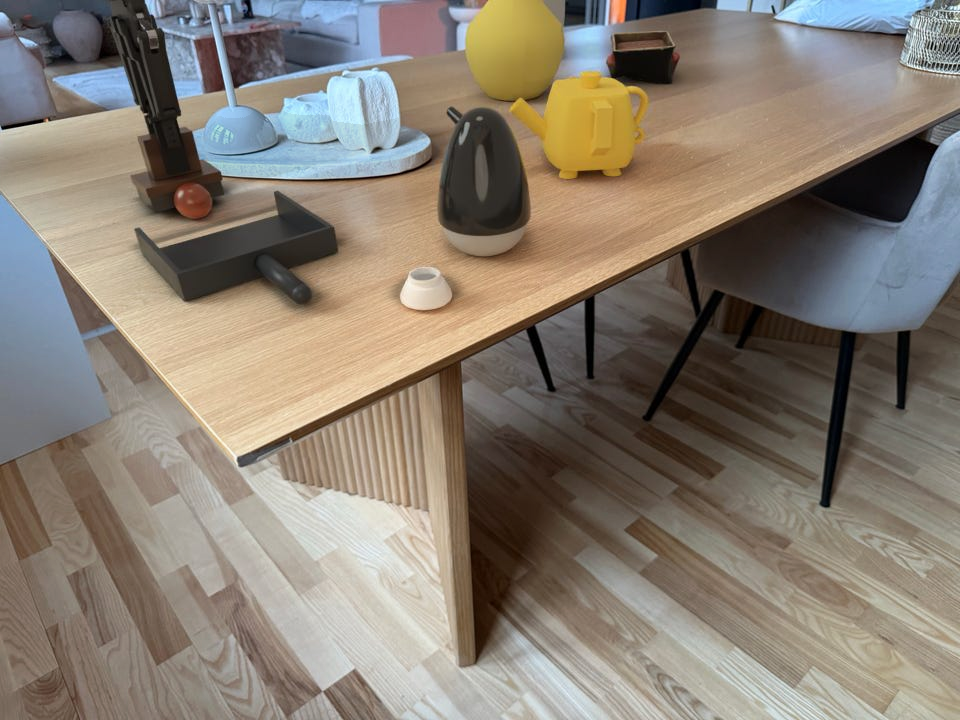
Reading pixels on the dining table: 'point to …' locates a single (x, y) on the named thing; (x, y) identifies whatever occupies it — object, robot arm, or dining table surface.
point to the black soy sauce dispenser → (483, 184)
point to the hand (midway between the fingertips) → (174, 168)
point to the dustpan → (245, 253)
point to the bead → (193, 200)
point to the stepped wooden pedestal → (161, 186)
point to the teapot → (587, 124)
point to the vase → (514, 48)
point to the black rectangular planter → (643, 56)
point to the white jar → (425, 289)
